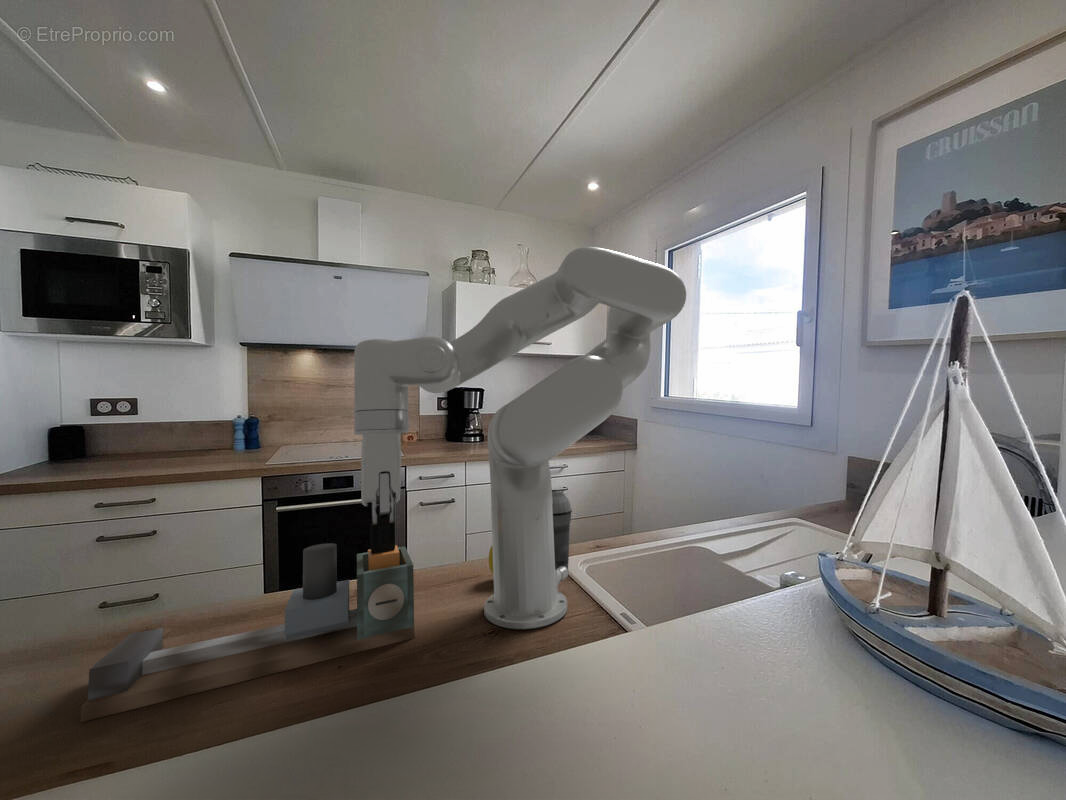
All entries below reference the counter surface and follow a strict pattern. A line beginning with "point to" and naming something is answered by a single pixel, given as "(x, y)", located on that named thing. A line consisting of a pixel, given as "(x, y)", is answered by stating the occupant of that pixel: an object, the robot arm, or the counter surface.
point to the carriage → (318, 595)
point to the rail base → (235, 670)
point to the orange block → (383, 559)
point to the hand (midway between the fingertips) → (382, 550)
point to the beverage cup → (561, 528)
